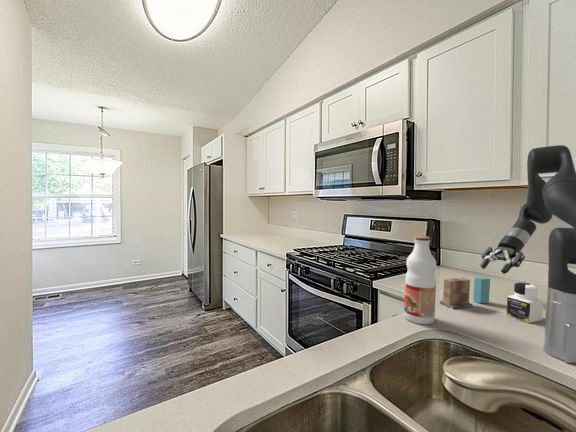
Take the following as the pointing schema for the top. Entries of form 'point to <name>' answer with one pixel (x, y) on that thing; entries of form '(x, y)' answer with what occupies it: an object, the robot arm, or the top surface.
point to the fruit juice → (420, 283)
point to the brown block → (456, 293)
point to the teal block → (481, 289)
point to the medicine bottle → (525, 303)
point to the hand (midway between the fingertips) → (492, 269)
